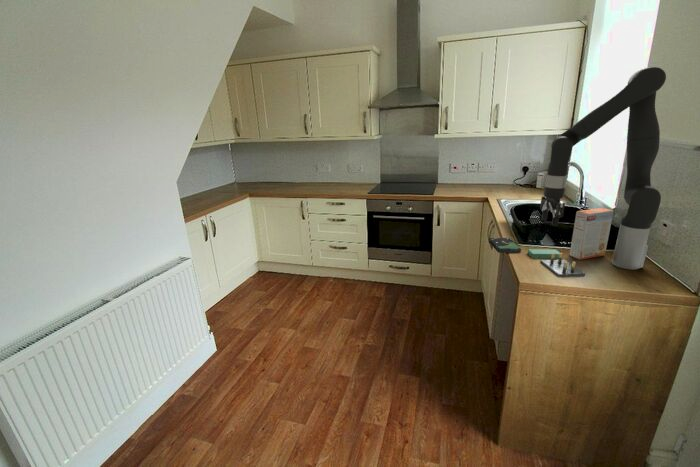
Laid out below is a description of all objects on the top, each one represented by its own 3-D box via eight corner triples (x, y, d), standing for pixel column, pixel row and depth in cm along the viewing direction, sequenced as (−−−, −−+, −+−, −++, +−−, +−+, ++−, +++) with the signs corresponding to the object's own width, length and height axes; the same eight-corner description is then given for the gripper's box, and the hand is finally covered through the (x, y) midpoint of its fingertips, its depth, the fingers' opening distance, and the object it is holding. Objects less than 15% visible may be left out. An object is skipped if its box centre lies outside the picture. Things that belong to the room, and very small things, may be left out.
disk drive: (487, 243, 172) (498, 253, 158) (488, 237, 171) (499, 248, 157) (508, 242, 171) (521, 253, 157) (509, 237, 170) (522, 247, 156)
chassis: (564, 261, 145) (566, 250, 144) (584, 276, 132) (587, 264, 131) (540, 262, 146) (542, 251, 144) (558, 276, 133) (560, 264, 131)
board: (555, 254, 154) (556, 249, 153) (560, 259, 149) (561, 254, 148) (527, 254, 156) (528, 249, 155) (531, 258, 151) (532, 253, 150)
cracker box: (592, 251, 155) (601, 207, 148) (605, 256, 149) (615, 210, 143) (567, 255, 152) (576, 210, 145) (579, 260, 146) (588, 213, 140)
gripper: (574, 188, 135) (567, 227, 140) (555, 182, 149) (549, 217, 154) (555, 189, 135) (549, 227, 141) (537, 183, 149) (532, 218, 154)
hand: (549, 222), depth 147 cm, fingers open, 8 cm apart
